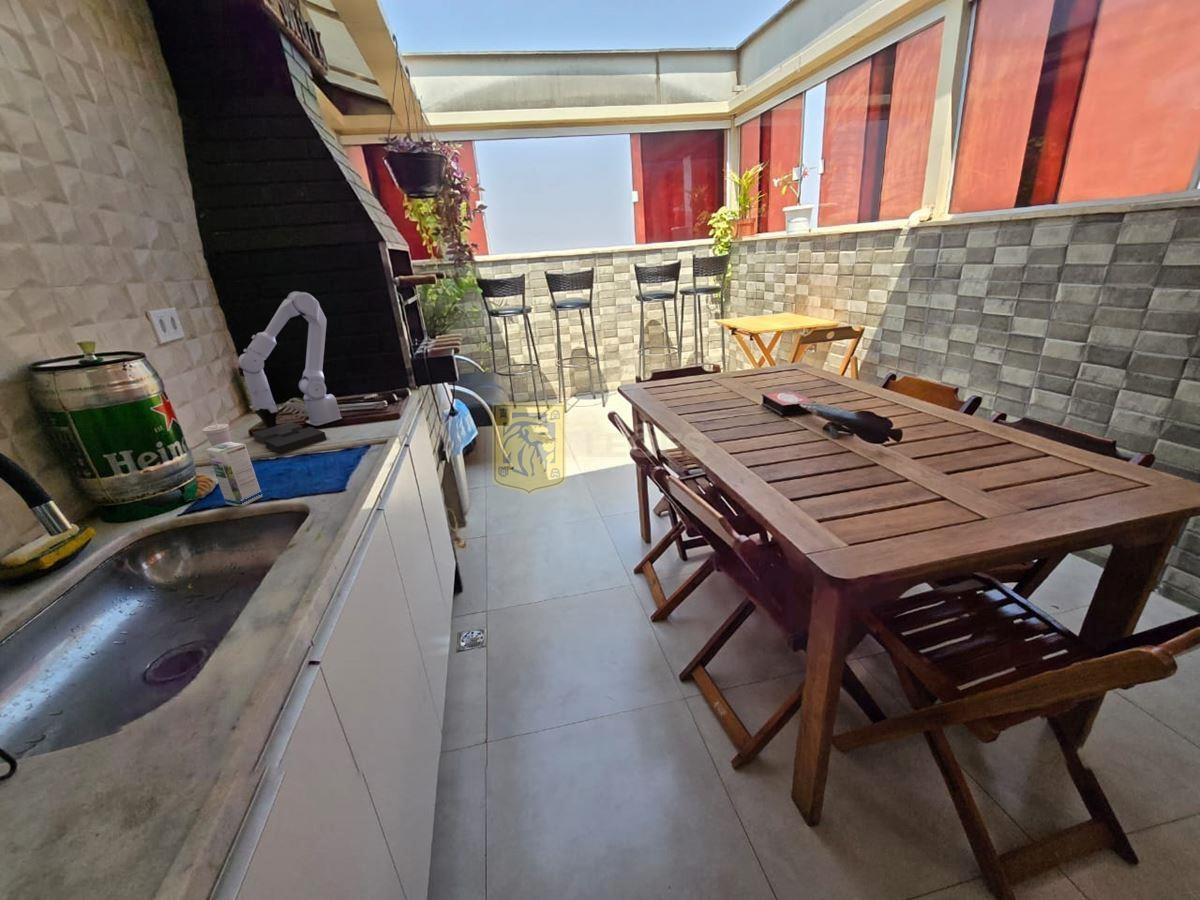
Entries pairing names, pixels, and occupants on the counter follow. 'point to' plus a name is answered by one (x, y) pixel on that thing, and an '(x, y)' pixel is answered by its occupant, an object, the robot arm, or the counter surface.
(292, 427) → the loose pad
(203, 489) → the pastry
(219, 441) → the smoothie
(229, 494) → the syrup box
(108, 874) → the counter surface
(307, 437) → the base pad
